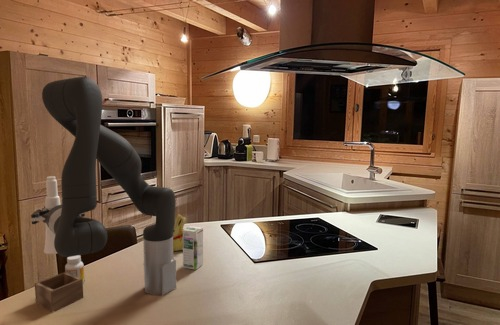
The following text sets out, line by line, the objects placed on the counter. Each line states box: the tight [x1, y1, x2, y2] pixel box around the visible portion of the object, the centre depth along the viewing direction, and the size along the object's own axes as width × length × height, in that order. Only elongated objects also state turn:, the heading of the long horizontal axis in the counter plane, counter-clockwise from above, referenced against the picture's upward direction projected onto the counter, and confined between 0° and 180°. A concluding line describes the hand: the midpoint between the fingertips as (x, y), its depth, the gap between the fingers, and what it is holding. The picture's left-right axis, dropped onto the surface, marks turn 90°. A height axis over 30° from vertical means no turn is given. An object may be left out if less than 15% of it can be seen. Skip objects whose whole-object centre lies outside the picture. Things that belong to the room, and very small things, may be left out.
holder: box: [34, 271, 84, 312], centre depth 106 cm, size 9×9×6 cm
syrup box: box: [182, 225, 204, 271], centre depth 131 cm, size 6×6×14 cm
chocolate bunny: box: [173, 213, 187, 252], centre depth 146 cm, size 7×11×15 cm, turn 116°
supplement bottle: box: [64, 255, 85, 286], centre depth 115 cm, size 5×5×10 cm
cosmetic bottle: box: [43, 175, 62, 255], centre depth 103 cm, size 6×6×22 cm
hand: (52, 208), depth 105 cm, fingers closed on cosmetic bottle, 3 cm apart
